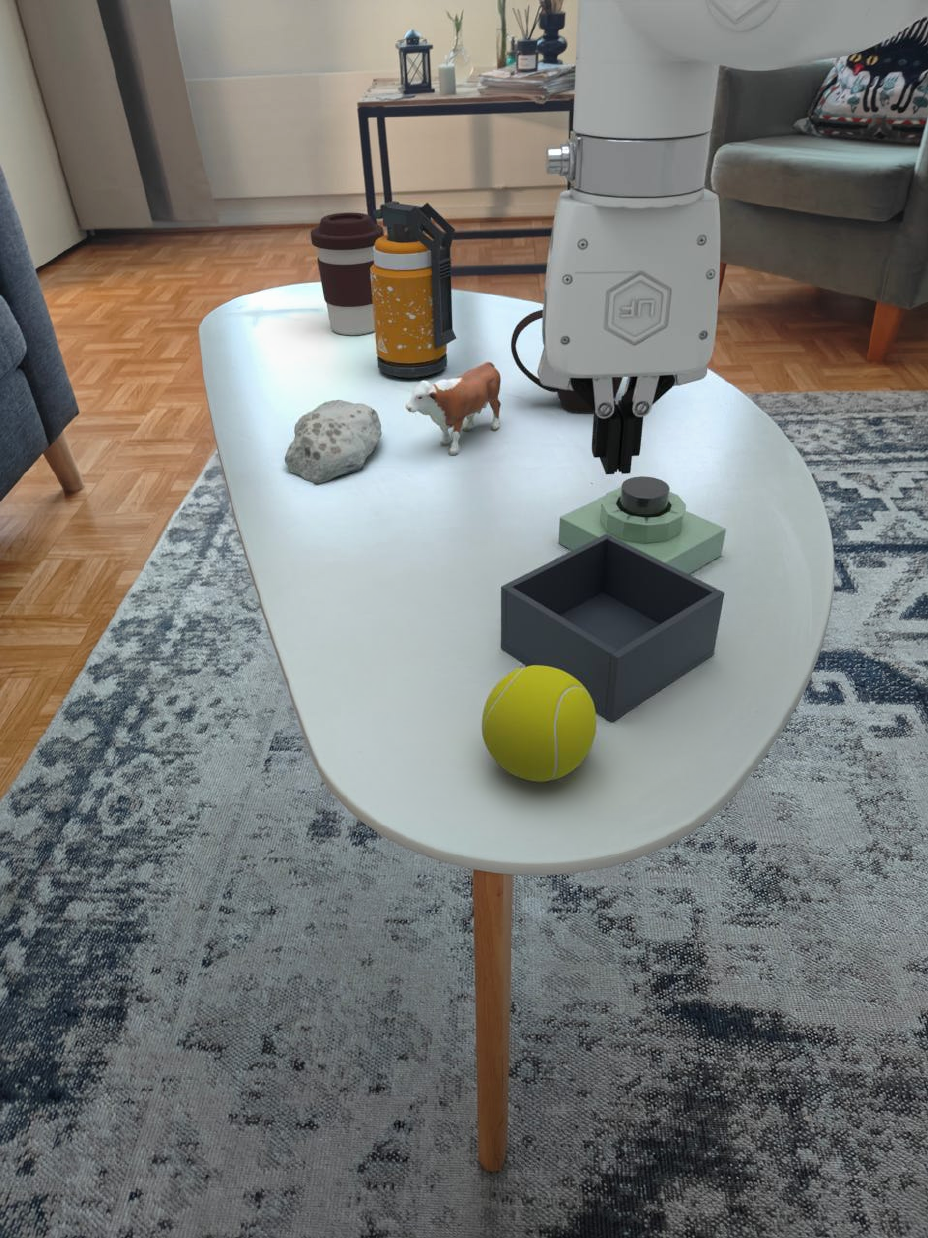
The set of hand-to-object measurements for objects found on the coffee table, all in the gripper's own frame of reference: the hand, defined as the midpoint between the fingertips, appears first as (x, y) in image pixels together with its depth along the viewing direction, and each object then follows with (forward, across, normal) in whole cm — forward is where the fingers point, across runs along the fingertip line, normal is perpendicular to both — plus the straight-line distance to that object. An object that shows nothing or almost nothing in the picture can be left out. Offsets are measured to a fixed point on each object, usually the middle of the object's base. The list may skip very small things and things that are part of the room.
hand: (614, 464), depth 61 cm
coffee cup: (+14, -23, +76) cm, 80 cm away
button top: (+10, +5, +12) cm, 16 cm away
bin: (+14, 0, -3) cm, 14 cm away
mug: (+14, +4, +45) cm, 47 cm away
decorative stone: (+14, -23, +33) cm, 43 cm away
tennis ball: (+14, -6, -14) cm, 21 cm away
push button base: (+14, +5, +12) cm, 19 cm away
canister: (+14, -14, +58) cm, 61 cm away
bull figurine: (+14, -9, +36) cm, 40 cm away
